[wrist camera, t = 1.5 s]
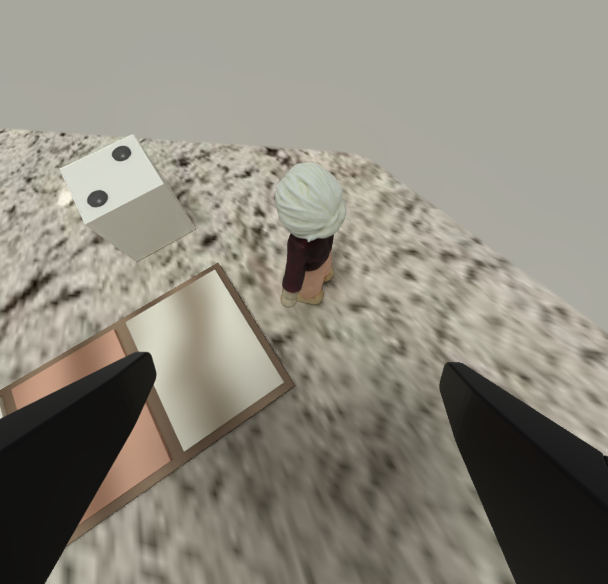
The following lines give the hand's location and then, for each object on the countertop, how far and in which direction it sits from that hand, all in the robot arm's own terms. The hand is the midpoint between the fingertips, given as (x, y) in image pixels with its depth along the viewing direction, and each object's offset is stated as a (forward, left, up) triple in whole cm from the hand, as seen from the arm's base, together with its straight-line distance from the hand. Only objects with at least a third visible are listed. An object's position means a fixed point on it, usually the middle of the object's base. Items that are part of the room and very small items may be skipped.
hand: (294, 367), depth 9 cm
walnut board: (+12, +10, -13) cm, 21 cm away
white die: (+20, -6, -13) cm, 24 cm away
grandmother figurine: (+3, -7, -14) cm, 16 cm away
